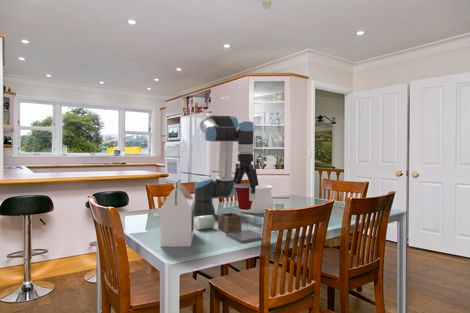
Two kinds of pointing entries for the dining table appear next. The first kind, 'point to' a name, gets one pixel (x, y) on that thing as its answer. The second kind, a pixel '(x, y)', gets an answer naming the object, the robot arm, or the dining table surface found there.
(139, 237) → the dining table surface
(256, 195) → the pot
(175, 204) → the gable box
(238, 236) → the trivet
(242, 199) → the plastic cup
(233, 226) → the walnut box
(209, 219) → the pale green capsule
